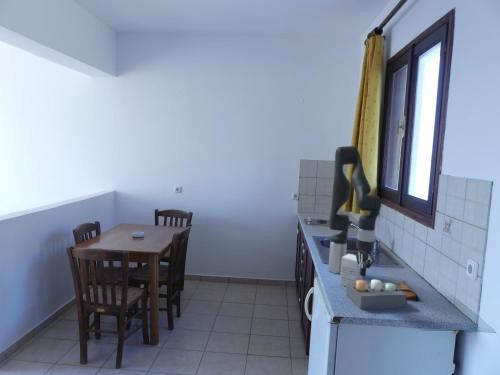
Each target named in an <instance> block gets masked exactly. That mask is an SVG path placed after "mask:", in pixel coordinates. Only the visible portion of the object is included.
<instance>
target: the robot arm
mask: <svg viewBox="0 0 500 375" xmlns="http://www.w3.org/2000/svg"><path fill="white" fill-rule="evenodd" d="M334 153H335V154H334V180H333V185H332V195H331V196H332V198H331V208H330V214H329V218H328V227H329V229H330V230H332V231H340V233H338V234H332V235H331V236H330V243H329V244H330V245H329V255H328V256H329V257H328V268H327V270H328V271H329V272H330V273H333V274H338V275H339V274H341V261H342V257H343V256H345V255H347V250H348V249H347V248H348V246H347V245H348V234H349V226H350V217H349V215H348V214H340V213H339V214H338V212H339V210H340V209H341V208H342V207H343V206H344V205H345V204H346V203H347V202H348V200H350V197H351V190H352V188H353V189H354V192H355V203H356V208H358V210H360V211H362V212H364V211H365V212H366V211H368V212H367V213H366V214H362V215H361V216H359V219H358V228H357V234H356V246H355V247H356V249H358V250H357V251H355V253H354V255H356V259H357V263H358V264H359V266H360V275H361V276H363V277H366V275H367V269H370V268H371V266H372V265H373V264H374V262H375V261H374V259H372V257H371V256H372V254H371V252H372V251H373V250H374V249H375V239H376V238H375V236H376V233H375V232H376V231H375V229H376V220H377V218H378V215H379V212H380V210H381V208H382V201H381V198H380V196H379V195H375V194H371V195H370V193H371V191H372V188H371V185H370V183H369V181H368V178H367V176H366V174H365V171H364V166H363V161H362V159H361V154H360V152H359V149H358V148H357V146H355V145H348V146H340V147H337V148H336V150H335V152H334ZM344 165H354V169H353V173H352V175H351V178H350V179H351V183H350V181H349V179H348V178H347V176H346V175H345V172H344V170H343V169H344Z"/></svg>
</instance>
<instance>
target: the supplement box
mask: <svg viewBox="0 0 500 375" xmlns="http://www.w3.org/2000/svg"><path fill="white" fill-rule="evenodd" d="M339 276H340V277H339V285H340V286H342V287H343V286H344V287H346V288H347V284H355V283H356V281H357V280H363V278H364V276H361V275H360V266H359V264H358V263H357V259H356V255H355V254H352V253H346V255H345V256H343V257H342V261H341V274H340V275H339Z"/></svg>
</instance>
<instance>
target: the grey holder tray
mask: <svg viewBox="0 0 500 375" xmlns="http://www.w3.org/2000/svg"><path fill="white" fill-rule="evenodd" d="M386 283H387V282H382V285H381V291H372V290H371V282H367V286H366V292H358V291H357V290H356V283H355V284H347V287H346V290H345V296H346V297H347V298H348V299H349V300H350V301H351V302H352V303H353V304H354V305H355V306H357V308H358V309H359V310H366V309H367V310H369V309H393V308H406V303H407V302H406V301H407V300H406V294H405V293H403V292H402V291H401V290H399V289H398V288H396V291H388V290H386V289H385V284H386Z"/></svg>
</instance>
